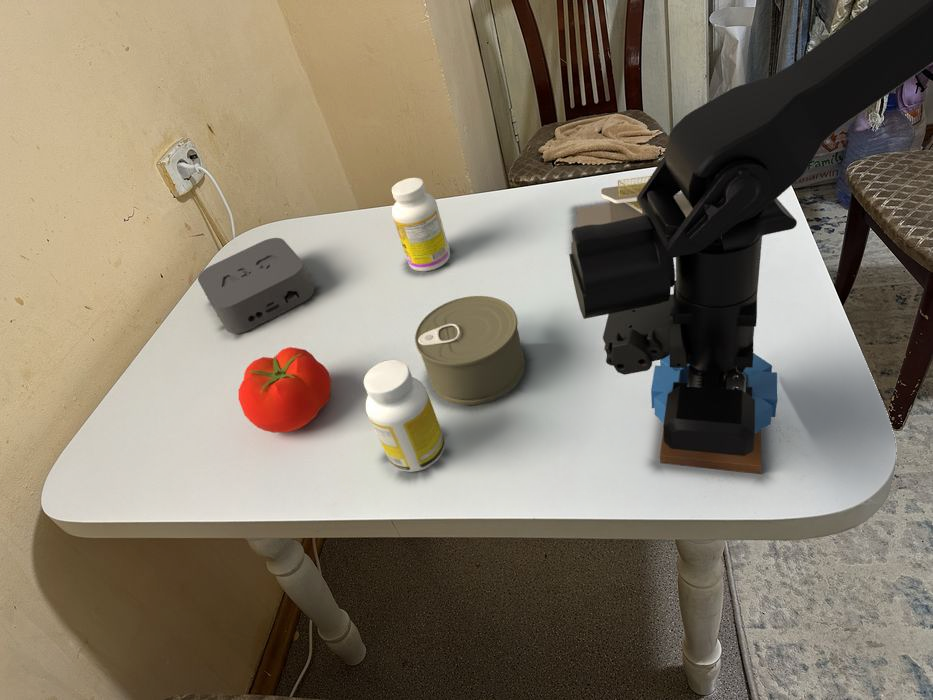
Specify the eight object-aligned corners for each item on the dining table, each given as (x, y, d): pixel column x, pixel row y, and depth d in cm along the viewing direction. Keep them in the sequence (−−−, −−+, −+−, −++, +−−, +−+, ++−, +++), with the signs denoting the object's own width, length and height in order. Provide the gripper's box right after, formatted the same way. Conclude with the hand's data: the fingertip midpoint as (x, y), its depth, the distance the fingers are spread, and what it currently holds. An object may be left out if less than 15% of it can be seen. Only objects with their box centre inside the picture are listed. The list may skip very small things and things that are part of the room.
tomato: (247, 451, 78) (218, 408, 73) (266, 387, 86) (242, 344, 82) (332, 436, 77) (309, 391, 72) (344, 373, 85) (323, 329, 80)
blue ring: (774, 363, 64) (776, 345, 63) (775, 449, 57) (778, 430, 55) (659, 357, 68) (658, 340, 67) (647, 437, 61) (646, 419, 59)
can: (536, 391, 75) (527, 346, 71) (434, 417, 76) (419, 374, 71) (515, 328, 84) (506, 285, 80) (425, 352, 85) (411, 310, 80)
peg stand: (760, 403, 67) (767, 343, 62) (760, 474, 61) (767, 414, 56) (668, 396, 70) (667, 339, 65) (660, 463, 64) (657, 405, 59)
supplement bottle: (412, 251, 104) (389, 177, 96) (453, 245, 103) (433, 170, 95) (405, 276, 99) (380, 200, 91) (448, 270, 98) (426, 193, 90)
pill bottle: (453, 431, 73) (427, 354, 66) (435, 477, 69) (405, 401, 62) (400, 426, 76) (369, 352, 68) (380, 471, 71) (344, 397, 64)
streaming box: (290, 259, 111) (278, 233, 107) (320, 295, 100) (308, 267, 97) (209, 299, 107) (194, 273, 103) (232, 340, 96) (216, 313, 93)
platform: (709, 236, 90) (710, 193, 86) (576, 250, 94) (571, 210, 90) (697, 192, 99) (698, 152, 95) (576, 208, 103) (572, 169, 99)
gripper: (623, 218, 58) (633, 349, 68) (585, 363, 46) (603, 497, 56) (761, 215, 54) (750, 355, 64) (761, 373, 42) (747, 516, 52)
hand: (711, 423), depth 59 cm, fingers closed on blue ring, 2 cm apart
